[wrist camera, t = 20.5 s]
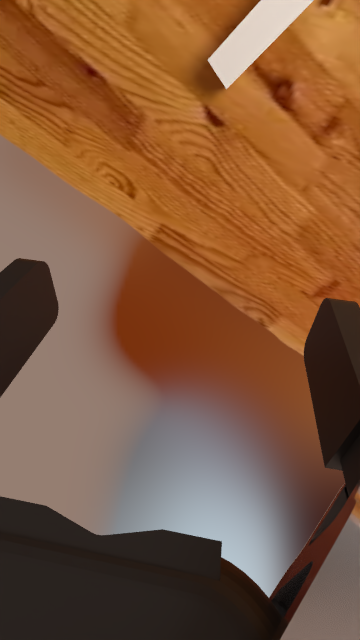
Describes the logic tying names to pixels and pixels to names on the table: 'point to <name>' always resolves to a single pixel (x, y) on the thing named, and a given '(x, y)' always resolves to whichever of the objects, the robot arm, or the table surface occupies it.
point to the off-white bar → (254, 37)
